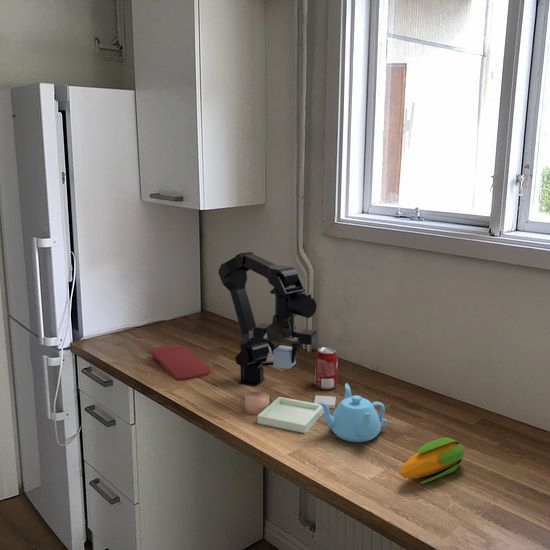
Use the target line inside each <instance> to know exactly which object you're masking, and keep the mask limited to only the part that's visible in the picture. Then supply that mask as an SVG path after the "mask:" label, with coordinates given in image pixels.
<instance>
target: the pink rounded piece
mask: <svg viewBox="0 0 550 550" xmlns="http://www.w3.org/2000/svg"><path fill="white" fill-rule="evenodd" d="M270 402H271V401H270V394H268V393H267V392H264V391H253V392H252V391H251V392H248V393H247V394H245V396H244V410H245V412H246V413H247V414H249V415H257V416H258V415H259V414H260V413H261V412H262V411H263V410H264V409H266V408H267V407H268V406H269V405H270V404H271V403H270Z"/></svg>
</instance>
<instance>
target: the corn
mask: <svg viewBox="0 0 550 550" xmlns="http://www.w3.org/2000/svg"><path fill="white" fill-rule="evenodd" d="M416 452H417V453H415V454H414V455H412V456H411V457H409V458H408V460H407V461H405V463H404V464H403V465H402V466H401V470H400V473H399V475H400V477H402V478H404V479H420V478H424V477H428V476H431V475H434V474H437V473H438V474H437V475H435V476H433V477H430V478H428V479H425V480H422V481H420V483H419V485H421V484H425V483H426V484H427V483H429V482H431V481H435V480H436V479H439V478H442V477H444V476H445V475H448V474H451V473H453V472H455V471H456V470H457V468H458V467H459V466H460V464H461V462H462V460H463V458H464V456H465V451H464V447H463V445H462V443H461V444H460V443H459V442H458V441H456V440H454V439H452V438H450V437H442V438H438V439H435V440H431V441H429V442H426V443H425V444H423V445H421V446H420V447H419V448H418V449H417V451H416ZM444 470H445V471H444ZM441 471H443V472H441ZM439 472H441V473H439Z"/></svg>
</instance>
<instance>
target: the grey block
mask: <svg viewBox="0 0 550 550" xmlns="http://www.w3.org/2000/svg"><path fill="white" fill-rule="evenodd" d="M336 398H337V397H336V396H329V395H315V397H314V401H313V403H315V404H319V403H317V402H324V403H326V404H327V405H328V407H329V409H336V400H337V399H336Z"/></svg>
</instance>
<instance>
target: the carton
mask: <svg viewBox="0 0 550 550" xmlns="http://www.w3.org/2000/svg"><path fill="white" fill-rule="evenodd" d="M151 352H152V360H154V361H157V362H158V363H159V364H160V365H161V366H162V367H163V368H164V369H165V371H167V373H169V374H170V376H172V377H173V379H175V381H178V382H179V381H189V380H193V379H198V378H202V377H205V376H206V377H207V376H208V375H210V374H211V373H212V370H211V369H210V367H209V366H207V365H206V364H205V363H204V361H202V360H201V359H199V357H197V356H196V355H195V353H193V352H192V351H191V350H190V349H189V348H187V347H186V346H185V345H181V344H174V343H173V344H168V345H164V346H158V347H153V348H152V349H151Z"/></svg>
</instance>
